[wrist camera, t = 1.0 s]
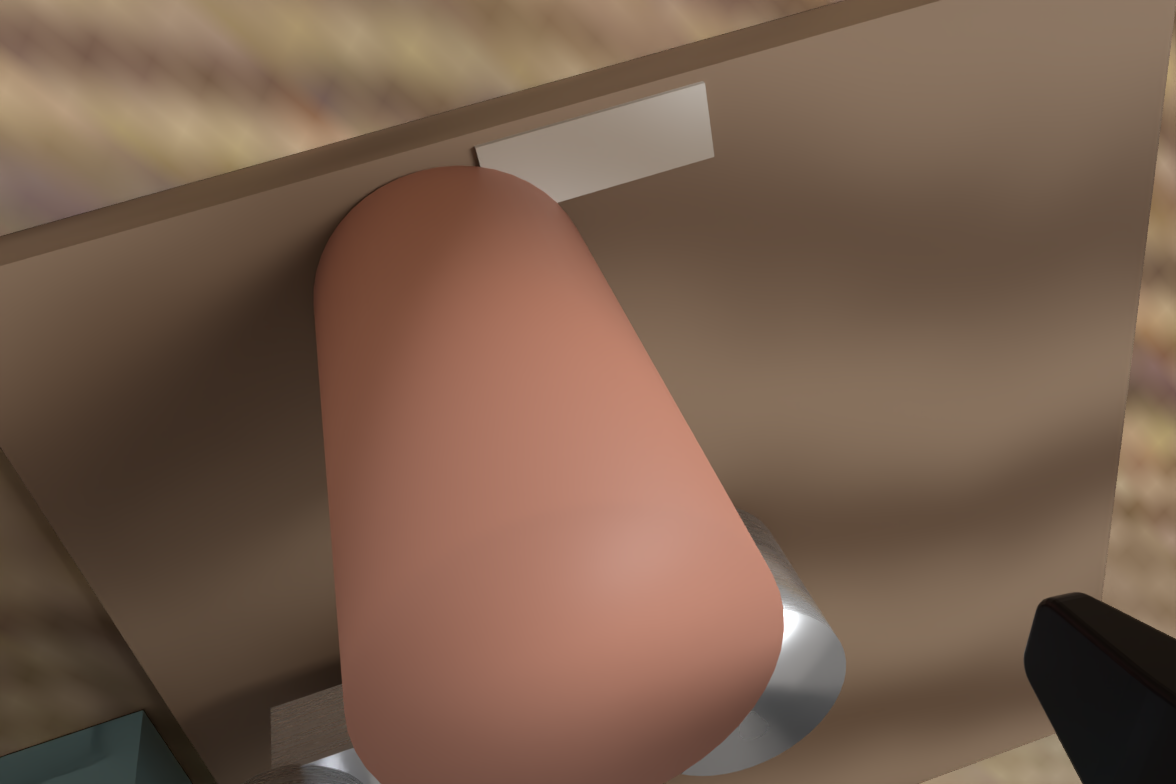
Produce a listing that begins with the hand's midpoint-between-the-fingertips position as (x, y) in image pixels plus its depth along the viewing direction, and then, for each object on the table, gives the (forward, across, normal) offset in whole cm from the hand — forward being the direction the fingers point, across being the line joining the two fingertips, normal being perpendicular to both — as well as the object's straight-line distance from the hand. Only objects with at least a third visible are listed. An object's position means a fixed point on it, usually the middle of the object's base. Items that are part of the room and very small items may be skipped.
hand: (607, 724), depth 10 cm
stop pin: (+9, 0, 0) cm, 9 cm away
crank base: (+10, -4, +7) cm, 13 cm away
